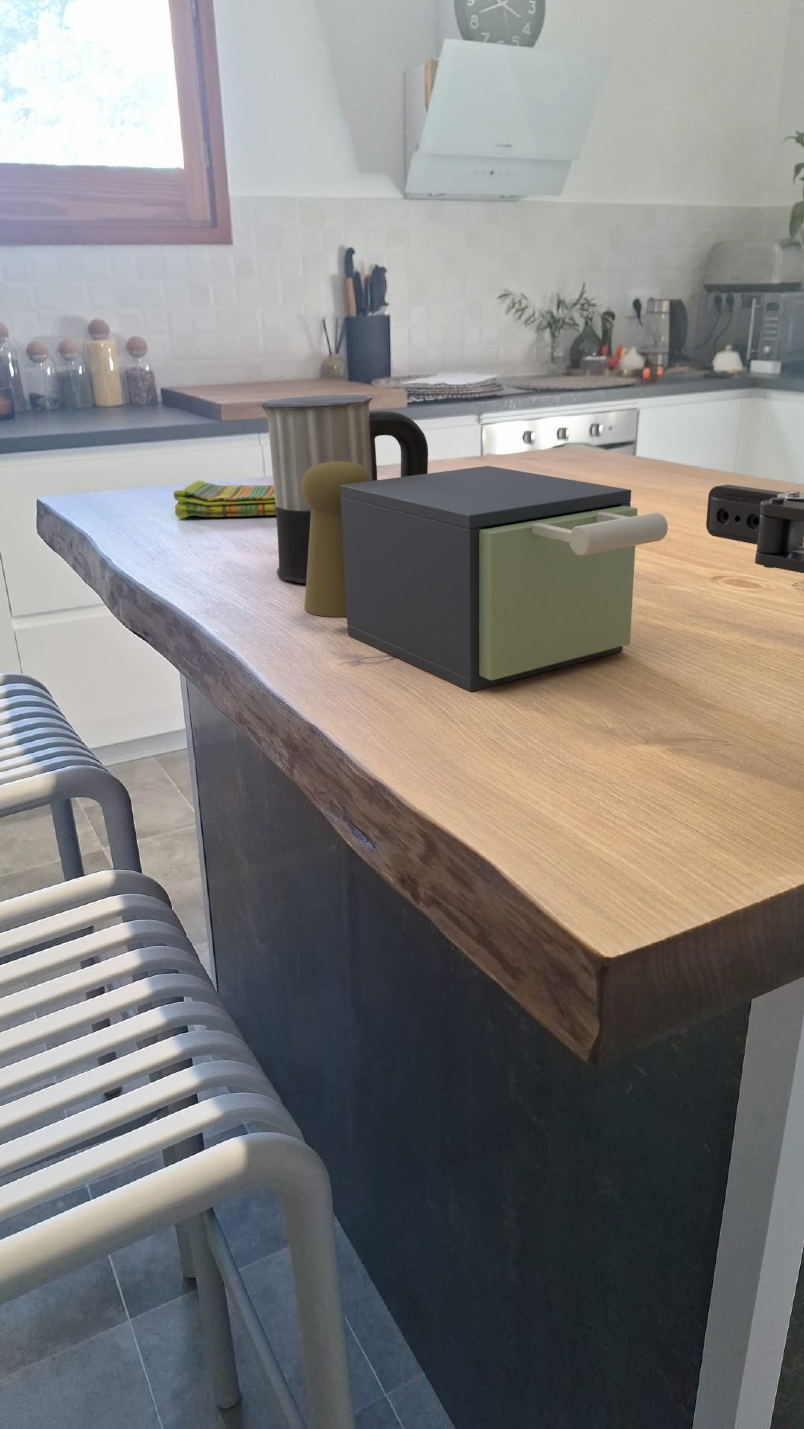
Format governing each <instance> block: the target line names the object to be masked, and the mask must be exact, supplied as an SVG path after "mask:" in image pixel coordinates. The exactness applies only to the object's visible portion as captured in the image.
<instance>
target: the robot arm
mask: <svg viewBox="0 0 804 1429" xmlns="http://www.w3.org/2000/svg"><path fill="white" fill-rule="evenodd" d="M706 508H707V510H706V522H705V525H706V530H707V533H708V534H709V535H710V536H712V537H716V538H721V539H726V540H731V541H736V542H742V543H745V544H751V545H756V550H755V557H754V564H756V565H759V566H763V567H764V568H768V569H778V570H784V571H789V572H795V573H800V574H804V492H801V491H800V490H786V492H785V491H777V490H769V489H763V488H756V487H749V486H742V485H735V484H729V483H728V484H722V485H716V486H713V487H712V488H711V489H710V490H709V492H708V496H707V507H706Z"/></svg>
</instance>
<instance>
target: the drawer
mask: <svg viewBox="0 0 804 1429" xmlns="http://www.w3.org/2000/svg"><path fill="white" fill-rule="evenodd" d="M480 528H481V530H479V675H480V676H481V677H484V678H486V679H488V680H495V679H499V678H503V677H507V676H510V675H514V674H518V673H522V672H526V671H529V670H533V669H537V668H541V667H545V666H548V665H552V664H556V663H560V662H564V661H567V660H571V659H575V658H579V657H583V656H586V655H590V654H594V653H598V652H602V651H605V650H609V649H613V648H617V647H621V646H623V647H624V646H629V645H630V644H631V633H632V632H631V630H632V614H633V599H634V598H633V595H634V578H635V563H636V562H635V560H636V546H639V545H645V544H649V543H654V542H660V541H662V540H663V539H664V538H665V537H666V536H667V535H668V529H669V528H668V520H667V519H666V517H665V515H663V513H662V514H661V513H660V512H650V513H644V514H640V515H638V508H637V507H634V506H630V507H628V506H619V507H613V508H608V509H602V510H600V508H594V509H588V510H582V511H576V512H570V513H564V514H558V515H552V516H546V517H540V518H534V519H528V520H522V521H516V522H510V523H504V524H498V525H492V526H486V527H480Z"/></svg>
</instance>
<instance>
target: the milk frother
mask: <svg viewBox="0 0 804 1429" xmlns="http://www.w3.org/2000/svg"><path fill="white" fill-rule="evenodd" d="M373 399H374V397H373V396H371V395H364V394H363V395H362V394H325V395H323V394H322V395H308V396H306V395H305V396H295V397H283V398H277V399H270V400H266V401H264V402H262V403H261V404H260V406H261V409H263V411H264V412H265V415H266V418H267V425H268V438H269V448H270V459H271V471H272V472H271V473H272V482H273V484H272V485H274V494H275V503H276V506H275V507H276V515H275V516H276V517H275V518H276V527H277V528H276V530H277V548H278V549H277V551H278V568H277V569H276V574H277V576H278V577H279V578H280V579H282V580H284V581H289V582H292V583H297V584H306V579H307V564H308V548H309V533H310V518H311V508H310V507H309V505H308V504H307V503H306V502H305V499H304V496H303V493H302V481H303V477H304V475H305V473H306V471H307V469H309V468H310V467H311V466H314V465H317V464H321V463H326V462H333V461H343V462H351V463H356V464H359V465H361V466H363V467H365V468H366V470H367V472H368V473H369V476H370V479H371V481H375V480H378V466H377V451H376V450H377V449H376V438H377V437H380V436H388V437H389V436H390V437H392V438H394V439H395V441H396V442H397V444H398V446H399V448H400V477H405V476H413V475H421V474H429V472H428V471H429V470H428V469H429V446H428V441H427V438H426V435H425V432H424V431H423V430H422V429H421V427H420V426H419V425H418V423H416V422H415V421H414V420H413V419H412V418H410V417H409V416H407V415H405V414H403V413H400V412H396V411H391V410H370V402H371V401H373Z"/></svg>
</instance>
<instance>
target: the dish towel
mask: <svg viewBox="0 0 804 1429" xmlns="http://www.w3.org/2000/svg"><path fill="white" fill-rule="evenodd" d="M173 498H174V500H175V501H177V503H176V504H175V505H174V514H175V516H176V517H177V518H180V519H184V518H188V517H192V516H193V517H194V516H195V517H205V518H219V517H221V518H222V517H254V516H255V517H257V516H276V507H275V506H276V503H275V494H274V484H265V485H264V484H259V485H257V484H253V485H251V484H250V485H248V484H247V485H245V484H244V485H239V484H238V485H223V484H215V483H211V482H206V481H204V480H201V479H196V480H195V481H192V482H191V483H189V484H187V486H185V487H184V488H182V489H177V490H174V491H173Z"/></svg>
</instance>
